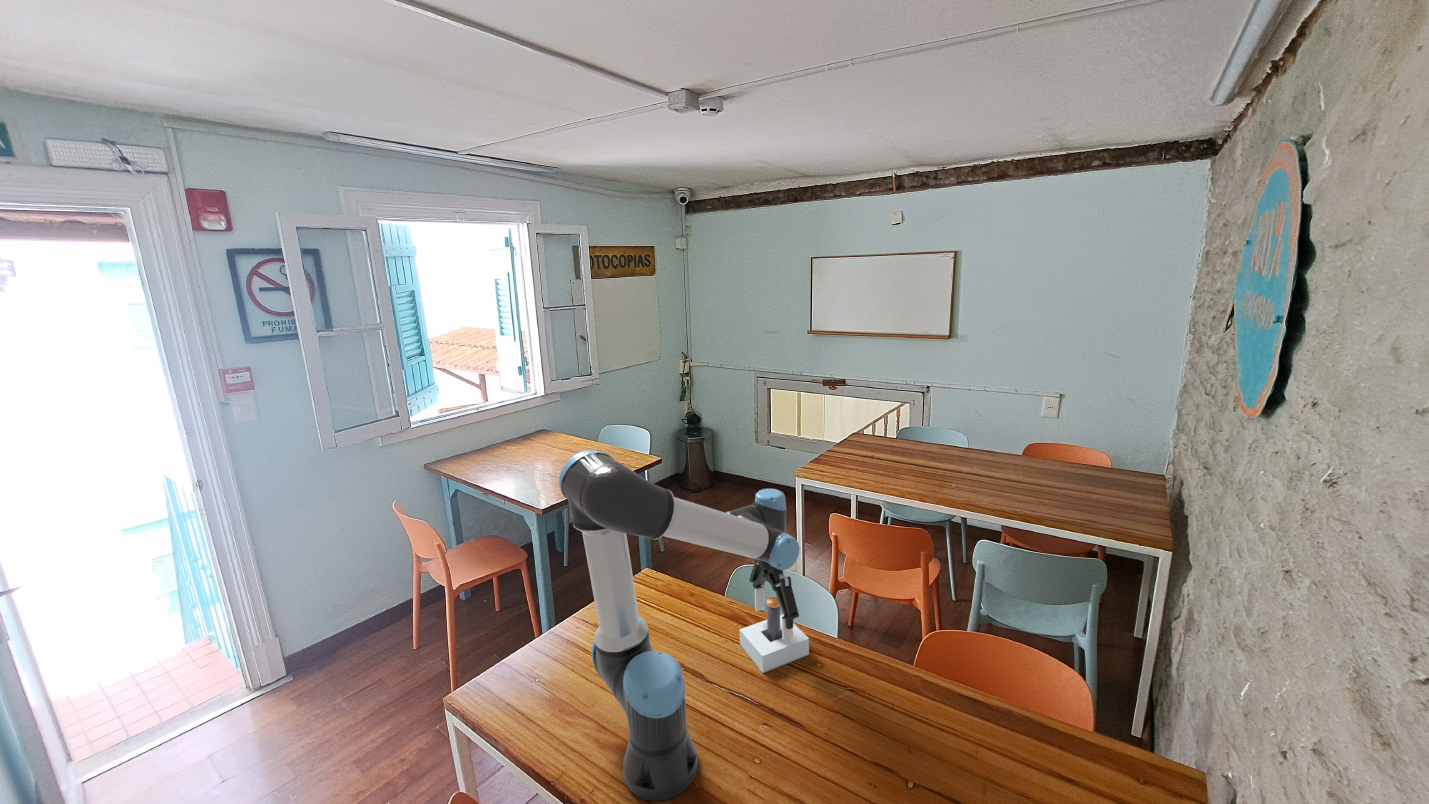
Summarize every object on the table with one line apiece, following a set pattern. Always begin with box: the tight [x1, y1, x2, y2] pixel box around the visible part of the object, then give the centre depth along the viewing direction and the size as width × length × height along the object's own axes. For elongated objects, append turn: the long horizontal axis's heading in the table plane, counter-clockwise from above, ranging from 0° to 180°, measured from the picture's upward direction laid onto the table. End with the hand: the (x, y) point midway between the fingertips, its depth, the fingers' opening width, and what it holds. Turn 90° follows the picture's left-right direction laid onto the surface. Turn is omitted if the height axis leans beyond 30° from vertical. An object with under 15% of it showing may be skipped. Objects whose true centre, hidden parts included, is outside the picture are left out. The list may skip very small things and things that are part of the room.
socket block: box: [739, 613, 810, 674], centre depth 145 cm, size 12×14×5 cm
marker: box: [766, 596, 781, 642], centre depth 144 cm, size 4×4×14 cm
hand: (773, 623), depth 143 cm, fingers open, 13 cm apart
